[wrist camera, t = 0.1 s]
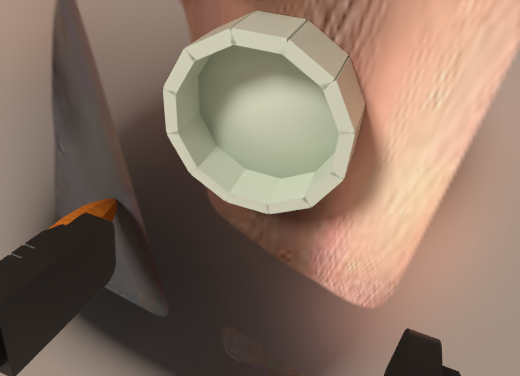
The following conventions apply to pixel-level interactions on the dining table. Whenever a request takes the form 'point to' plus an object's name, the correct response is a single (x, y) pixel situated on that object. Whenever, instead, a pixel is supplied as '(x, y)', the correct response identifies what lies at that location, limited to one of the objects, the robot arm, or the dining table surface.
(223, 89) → the bowl
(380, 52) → the dining table surface
